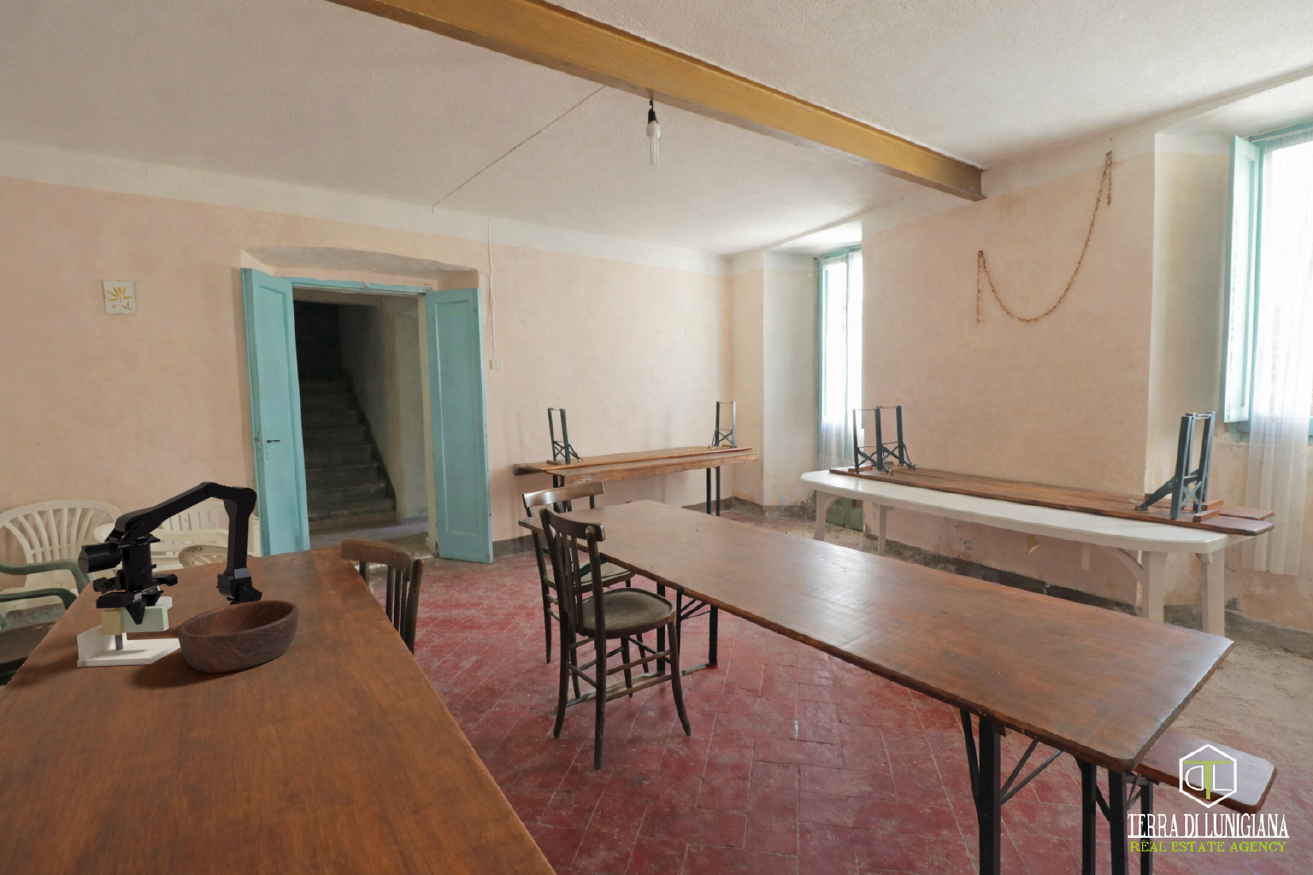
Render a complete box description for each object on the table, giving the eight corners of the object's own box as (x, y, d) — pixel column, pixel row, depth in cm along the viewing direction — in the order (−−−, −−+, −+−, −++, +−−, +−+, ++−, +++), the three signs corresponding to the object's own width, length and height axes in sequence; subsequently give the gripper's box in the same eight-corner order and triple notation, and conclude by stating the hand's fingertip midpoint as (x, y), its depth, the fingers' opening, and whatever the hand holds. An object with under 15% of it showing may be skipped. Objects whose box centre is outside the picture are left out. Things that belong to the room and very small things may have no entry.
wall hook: (164, 572, 189) (173, 578, 183) (166, 601, 190) (175, 607, 184) (129, 579, 183) (137, 585, 177) (131, 609, 183) (140, 616, 177)
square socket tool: (172, 626, 152) (170, 604, 152) (160, 632, 148) (158, 609, 148) (116, 628, 151) (114, 606, 151) (103, 635, 147) (100, 611, 147)
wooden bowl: (240, 683, 134) (237, 640, 134) (152, 674, 139) (149, 632, 139) (322, 639, 159) (320, 602, 158) (245, 632, 164) (243, 596, 163)
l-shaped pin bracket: (186, 643, 157) (184, 614, 156) (150, 663, 145) (148, 632, 144) (119, 645, 156) (117, 616, 155) (77, 666, 144) (75, 635, 143)
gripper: (133, 554, 157) (138, 610, 159) (68, 575, 139) (74, 639, 140) (177, 552, 158) (181, 609, 159) (118, 573, 140) (123, 637, 141)
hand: (141, 622), depth 150 cm, fingers closed on square socket tool, 2 cm apart
